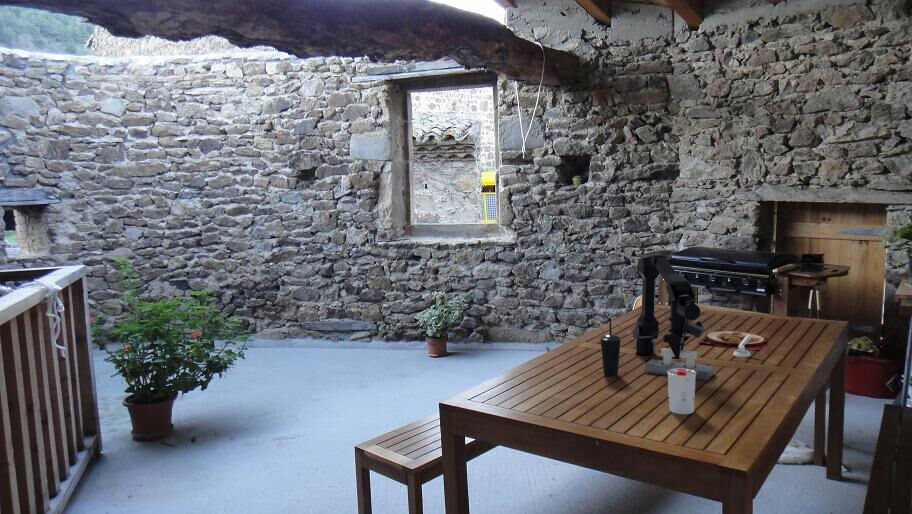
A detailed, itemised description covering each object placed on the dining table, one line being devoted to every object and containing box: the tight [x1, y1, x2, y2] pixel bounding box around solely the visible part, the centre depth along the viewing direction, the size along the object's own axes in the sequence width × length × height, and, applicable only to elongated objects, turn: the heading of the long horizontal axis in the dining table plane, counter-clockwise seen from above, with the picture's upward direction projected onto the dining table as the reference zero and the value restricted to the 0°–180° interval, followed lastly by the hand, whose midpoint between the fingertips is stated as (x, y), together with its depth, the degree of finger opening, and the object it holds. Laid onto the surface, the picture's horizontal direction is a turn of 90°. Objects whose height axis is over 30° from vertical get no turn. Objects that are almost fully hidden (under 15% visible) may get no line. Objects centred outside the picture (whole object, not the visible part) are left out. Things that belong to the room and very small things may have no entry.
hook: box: [733, 334, 751, 358], centre depth 261 cm, size 6×10×6 cm
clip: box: [660, 347, 698, 369], centre depth 240 cm, size 12×3×7 cm, turn 57°
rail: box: [644, 358, 714, 381], centre depth 240 cm, size 22×8×3 cm, turn 57°
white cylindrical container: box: [667, 368, 697, 415], centre depth 201 cm, size 10×8×12 cm
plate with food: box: [697, 325, 770, 351], centre depth 284 cm, size 25×26×4 cm
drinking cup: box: [599, 319, 622, 377], centre depth 241 cm, size 8×8×20 cm
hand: (678, 357), depth 240 cm, fingers closed on clip, 3 cm apart
